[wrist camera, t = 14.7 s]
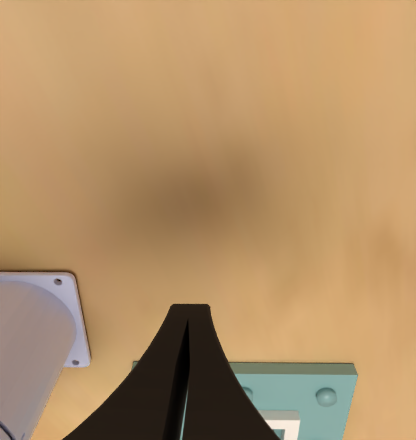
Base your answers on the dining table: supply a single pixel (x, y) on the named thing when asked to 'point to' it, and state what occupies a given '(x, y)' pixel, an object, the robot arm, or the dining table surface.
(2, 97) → the dining table surface
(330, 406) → the baseplate
